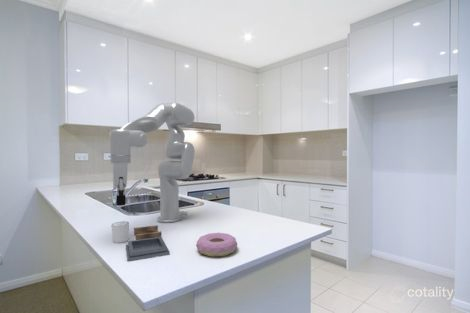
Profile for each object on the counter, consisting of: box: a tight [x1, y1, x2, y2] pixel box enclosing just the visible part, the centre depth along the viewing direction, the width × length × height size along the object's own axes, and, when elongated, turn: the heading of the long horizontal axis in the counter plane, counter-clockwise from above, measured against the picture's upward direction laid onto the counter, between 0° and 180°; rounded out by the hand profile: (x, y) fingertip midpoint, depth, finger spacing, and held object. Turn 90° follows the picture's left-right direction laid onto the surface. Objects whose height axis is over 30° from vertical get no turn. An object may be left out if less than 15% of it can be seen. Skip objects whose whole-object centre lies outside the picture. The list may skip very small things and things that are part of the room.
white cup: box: [110, 220, 130, 244], centre depth 108 cm, size 7×7×7 cm
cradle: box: [125, 236, 171, 262], centre depth 97 cm, size 14×14×2 cm
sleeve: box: [133, 224, 162, 240], centre depth 113 cm, size 10×11×3 cm
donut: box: [195, 232, 238, 258], centre depth 98 cm, size 16×15×5 cm
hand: (120, 203), depth 108 cm, fingers open, 3 cm apart
